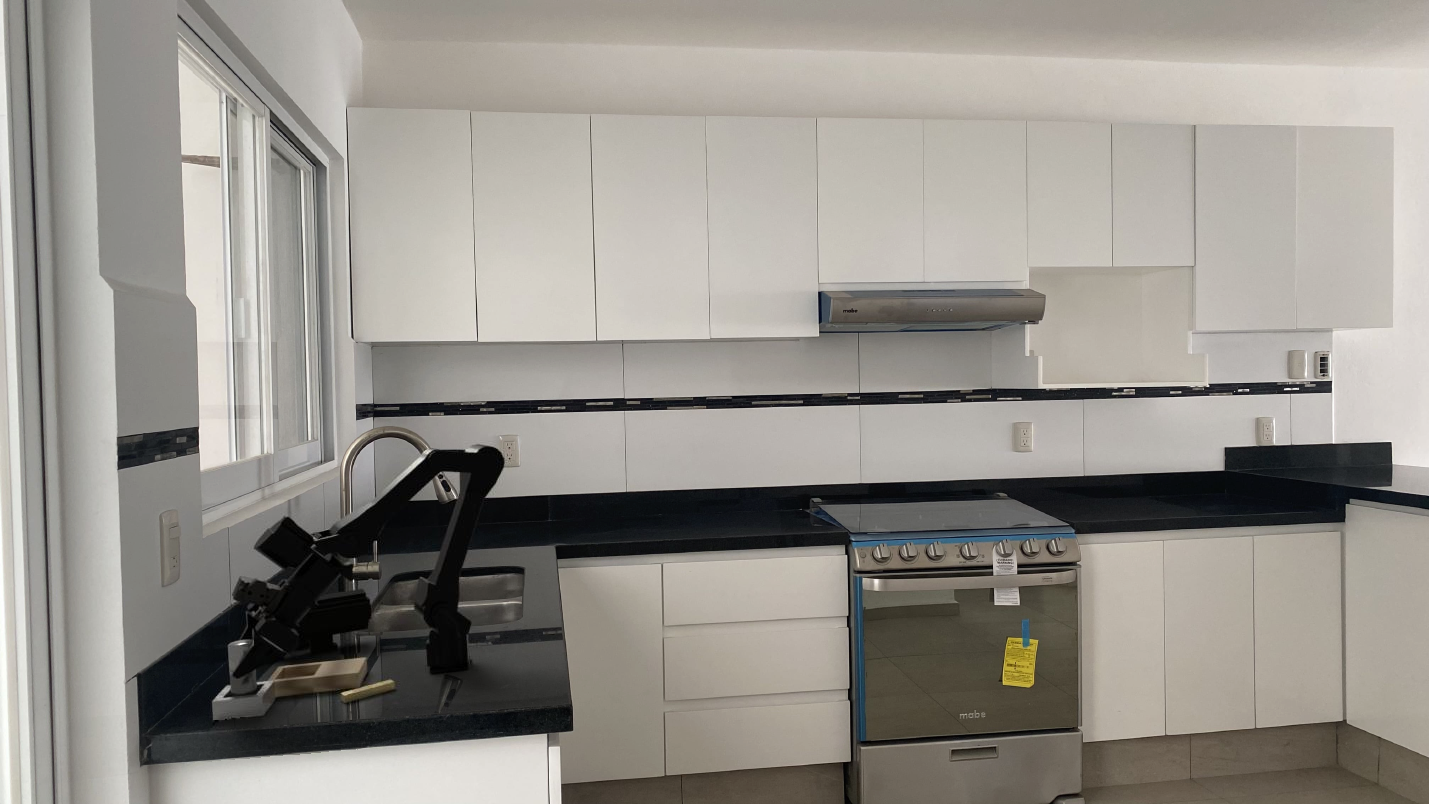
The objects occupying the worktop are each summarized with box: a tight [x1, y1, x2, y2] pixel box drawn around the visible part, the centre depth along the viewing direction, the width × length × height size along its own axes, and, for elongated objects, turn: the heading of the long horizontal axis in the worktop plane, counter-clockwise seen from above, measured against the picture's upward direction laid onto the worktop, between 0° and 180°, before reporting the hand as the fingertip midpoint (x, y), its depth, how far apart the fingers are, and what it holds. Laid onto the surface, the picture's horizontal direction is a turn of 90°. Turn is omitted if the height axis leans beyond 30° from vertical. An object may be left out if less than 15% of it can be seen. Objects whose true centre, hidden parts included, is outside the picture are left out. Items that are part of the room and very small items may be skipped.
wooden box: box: [267, 657, 368, 698], centre depth 150 cm, size 14×8×2 cm, turn 102°
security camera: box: [276, 588, 372, 661], centre depth 168 cm, size 7×18×10 cm, turn 121°
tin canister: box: [227, 640, 258, 697], centre depth 140 cm, size 4×4×10 cm
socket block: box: [211, 680, 277, 722], centre depth 140 cm, size 7×7×3 cm
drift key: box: [340, 679, 396, 704], centre depth 144 cm, size 8×2×1 cm, turn 132°
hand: (232, 669), depth 139 cm, fingers open, 9 cm apart
